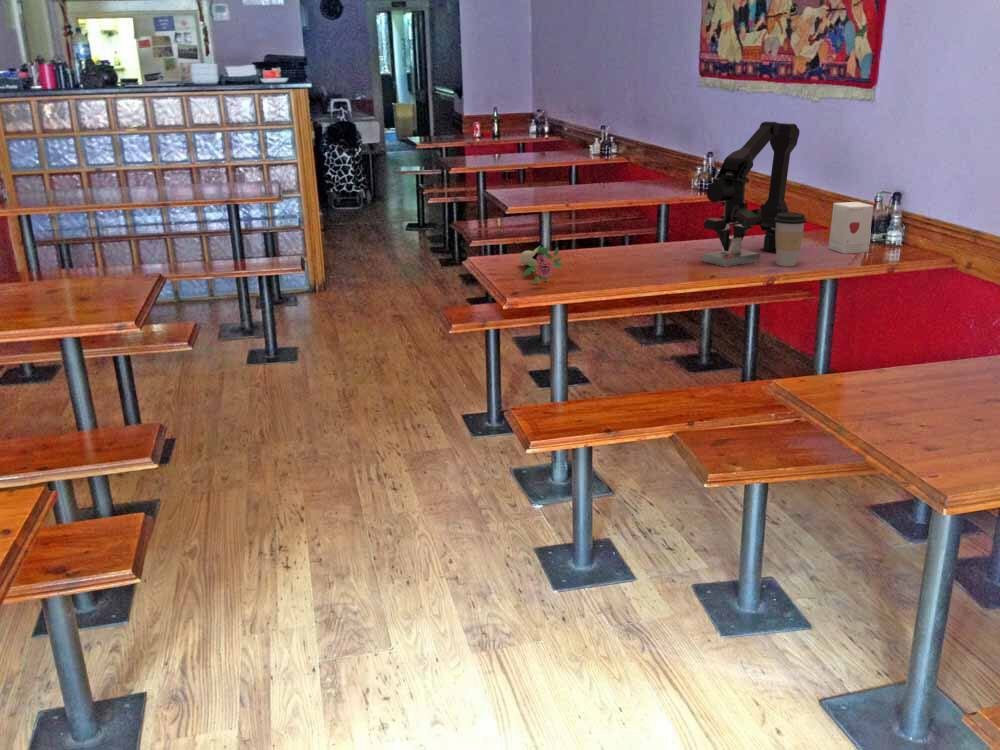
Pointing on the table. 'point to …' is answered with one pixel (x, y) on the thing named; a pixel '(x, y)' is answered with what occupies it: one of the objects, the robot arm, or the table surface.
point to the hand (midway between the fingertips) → (731, 250)
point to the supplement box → (850, 227)
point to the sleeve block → (730, 258)
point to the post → (733, 246)
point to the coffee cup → (788, 237)
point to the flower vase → (540, 262)
